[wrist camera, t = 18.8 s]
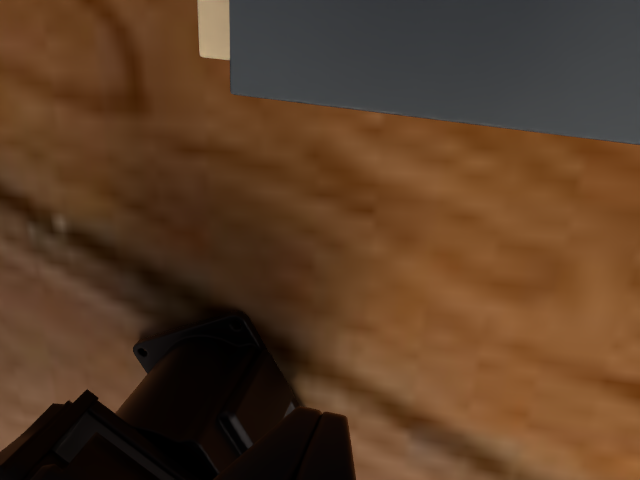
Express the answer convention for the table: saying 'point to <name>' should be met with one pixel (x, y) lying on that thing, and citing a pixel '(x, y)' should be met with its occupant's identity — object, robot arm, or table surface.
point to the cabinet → (449, 60)
